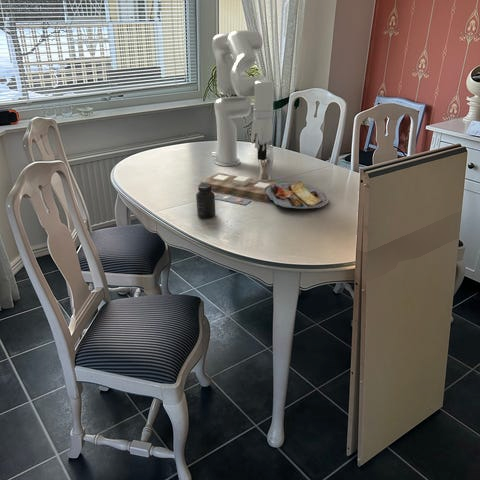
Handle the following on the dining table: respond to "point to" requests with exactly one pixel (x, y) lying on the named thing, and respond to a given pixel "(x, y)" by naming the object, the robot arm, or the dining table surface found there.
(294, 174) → the dining table surface
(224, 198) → the pattern card
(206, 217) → the supplement bottle
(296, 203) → the food plate
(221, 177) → the left button
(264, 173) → the beer glass
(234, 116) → the robot arm
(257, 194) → the button board
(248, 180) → the middle button
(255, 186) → the right button
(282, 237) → the dining table surface
